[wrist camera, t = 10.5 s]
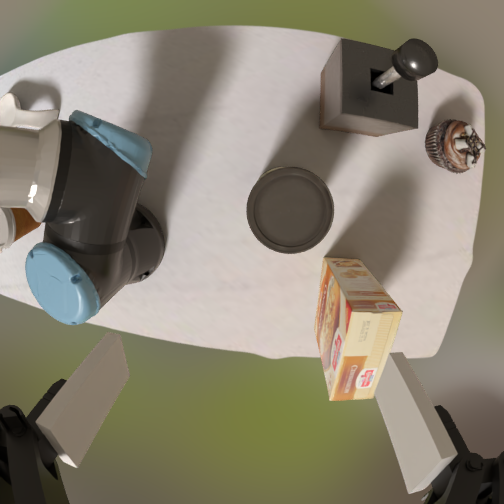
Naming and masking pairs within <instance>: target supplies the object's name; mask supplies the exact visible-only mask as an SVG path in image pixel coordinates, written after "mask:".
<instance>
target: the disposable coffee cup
mask: <svg viewBox="0 0 504 504" xmlns="http://www.w3.org/2000/svg"><path fill="white" fill-rule="evenodd" d="M40 224H41V222H36V221H35V219H34V218H33V217H32V215H31V214H30V213H29V212H28V210H27V209H25V208H6V207H0V248H5V249H6V248H9V247H10V246H11V245H12V243H13V242H15V241H16V240H18V239H19V238H21V237H23V236H24V235H26V234H28V233H29V232H31V231H32V230H34V229H36V228H38V227H39V226H40Z"/></svg>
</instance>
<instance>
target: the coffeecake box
mask: <svg viewBox="0 0 504 504" xmlns="http://www.w3.org/2000/svg"><path fill="white" fill-rule="evenodd" d="M402 312H403V311H402V310H401V309H400V308H399V307H398V306H397V304H396V303H395V302H394V301H393V299H392V298H391V297H390V296H389V294H388V293H387V292H386V291H385V289H384V288H383V287H382V286H381V284H380V283H379V282H378V281H377V280H376V278H375V277H374V276H373V275H372V274H371V272H370V271H369V270H368V269H367V268H366V267H365V265H364V264H363V263H362V262H361V261H360V259H345V258H328V257H324V258H323V265H322V273H321V281H320V289H319V297H318V305H317V312H316V319H315V326H314V330H315V334H316V338H317V342H318V347H319V351H320V355H321V360H322V365H323V369H324V374H325V379H326V383H327V388H328V392H329V400H330V401H339V400H351V399H369V398H373V397H374V392H375V389H376V387H377V384H378V382H379V379H380V377H381V374H382V372H383V369H384V366H385V364H386V361H387V358H388V355H389V353H390V351H391V348H392V345H393V342H394V339H395V336H396V333H397V330H398V326H399V323H400V319H401V316H402Z"/></svg>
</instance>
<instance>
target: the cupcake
mask: <svg viewBox="0 0 504 504" xmlns="http://www.w3.org/2000/svg"><path fill="white" fill-rule="evenodd" d="M425 147H426V152H427V154H428V156H429V158H430V160H431V161H432V162H433V163H435V164H436V165H438V166H439V167H442V168H445V169H447V170H448V171H450V172H453V173H456V174H458V173H463V172H465V171H467V170H469V169H470V168H472V169H473V168H474V167H475V163H477V161H478V159H479V157H480V154H481V153H484V152H485V149H486V148H485V144H484V143H483V142H482V140H481V139H480V138H479V137H478V135H477V133H476V132H475V130H474V129H473V127H472V126H471V124H467V123H465V122H463V121H457V120H451V119H450V120H444V121H443V122H441V123H440V124H438V125H436V126H435V127H433V128H431V129H430V131H429V132H428V133H427V135H426V140H425Z"/></svg>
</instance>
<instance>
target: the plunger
mask: <svg viewBox="0 0 504 504" xmlns="http://www.w3.org/2000/svg"><path fill="white" fill-rule="evenodd" d="M392 65H393V67H391V68H390V69H389V70H387V71H386V72H384V73H383V74H382V75H380V76H379V77H378V78H376V79H375V80H374V81H372V82H371V90H372V91H377V92H378V91H379V90H380V89H382V88H384V87H385V86H387V85H389V84H390V83H392V82H393V81H395V80H397V79H398V78H400V77H403V78H404V79H406V80H409V81H417V80H419V79H421V78H423V77H426V76H428V75H430V74H432V73H434V72H435V71H436V70H437V67H438V60H437V56H436V54H435V52H434V51H433V49H432V48H431V47H430V46H429V45H428V44H427V43H425V42H423V41H422V40H419V39H409V40H408V41H407V42H405V43H404V44H403V45H402V46H400V47H399V48H398V49H397V50H395V51H394V52H393V54H392Z"/></svg>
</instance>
